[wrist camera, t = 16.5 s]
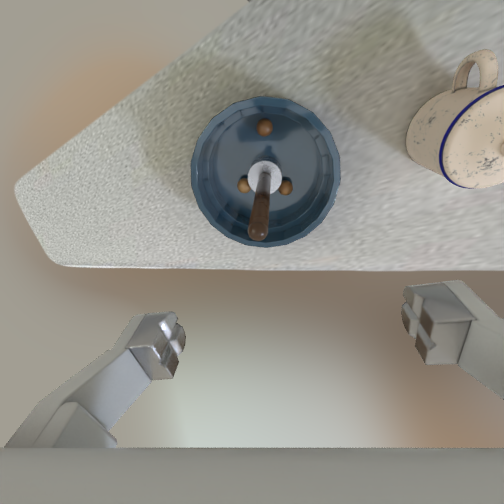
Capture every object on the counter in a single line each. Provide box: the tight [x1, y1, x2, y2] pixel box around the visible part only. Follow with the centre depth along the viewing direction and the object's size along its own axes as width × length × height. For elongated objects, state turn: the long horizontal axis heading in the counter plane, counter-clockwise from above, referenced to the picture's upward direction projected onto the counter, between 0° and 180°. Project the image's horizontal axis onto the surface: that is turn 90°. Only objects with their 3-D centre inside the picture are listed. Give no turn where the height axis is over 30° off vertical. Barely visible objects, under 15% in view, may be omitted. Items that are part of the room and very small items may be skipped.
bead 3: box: [278, 180, 293, 195], centre depth 34 cm, size 2×2×2 cm
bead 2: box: [256, 118, 273, 137], centre depth 31 cm, size 2×2×2 cm
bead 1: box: [237, 178, 251, 193], centre depth 35 cm, size 2×2×2 cm
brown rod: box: [248, 156, 282, 241], centre depth 27 cm, size 4×4×18 cm
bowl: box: [191, 96, 341, 248], centre depth 32 cm, size 18×18×6 cm
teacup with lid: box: [406, 49, 504, 189], centre depth 25 cm, size 12×9×12 cm
